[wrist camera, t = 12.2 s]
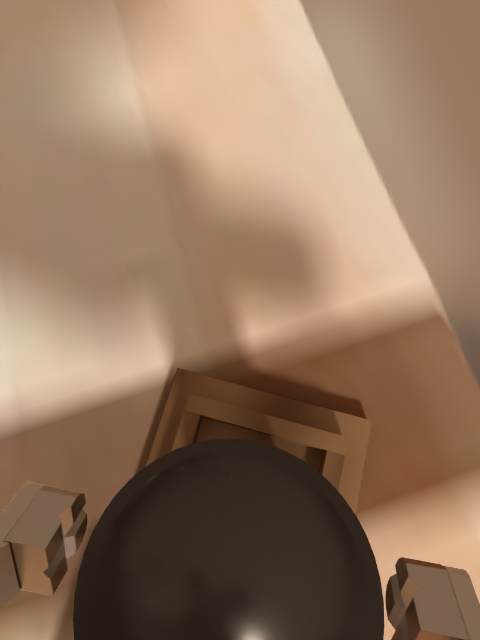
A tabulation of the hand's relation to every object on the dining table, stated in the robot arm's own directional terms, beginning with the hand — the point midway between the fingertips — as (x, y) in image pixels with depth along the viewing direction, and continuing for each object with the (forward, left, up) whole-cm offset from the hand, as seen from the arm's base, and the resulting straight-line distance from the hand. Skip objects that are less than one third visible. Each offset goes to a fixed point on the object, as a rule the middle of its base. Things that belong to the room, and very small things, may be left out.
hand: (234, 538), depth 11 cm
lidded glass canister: (0, 0, -9) cm, 9 cm away
